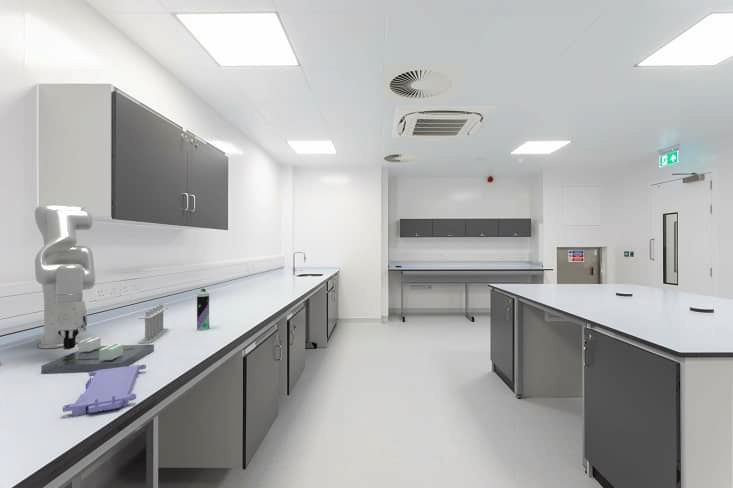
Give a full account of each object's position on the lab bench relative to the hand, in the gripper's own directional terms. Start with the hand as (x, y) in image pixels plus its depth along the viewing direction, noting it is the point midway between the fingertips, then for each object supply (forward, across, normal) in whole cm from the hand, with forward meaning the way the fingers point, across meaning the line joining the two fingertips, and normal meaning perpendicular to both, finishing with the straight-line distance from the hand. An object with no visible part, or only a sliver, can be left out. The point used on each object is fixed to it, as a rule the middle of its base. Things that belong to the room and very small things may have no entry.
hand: (69, 348), depth 130 cm
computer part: (+4, +34, -34) cm, 48 cm away
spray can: (+4, +33, +41) cm, 53 cm away
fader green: (+1, +21, -11) cm, 24 cm away
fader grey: (+1, +7, 0) cm, 7 cm away
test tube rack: (+4, +16, +29) cm, 33 cm away
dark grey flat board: (+4, +15, -5) cm, 16 cm away
